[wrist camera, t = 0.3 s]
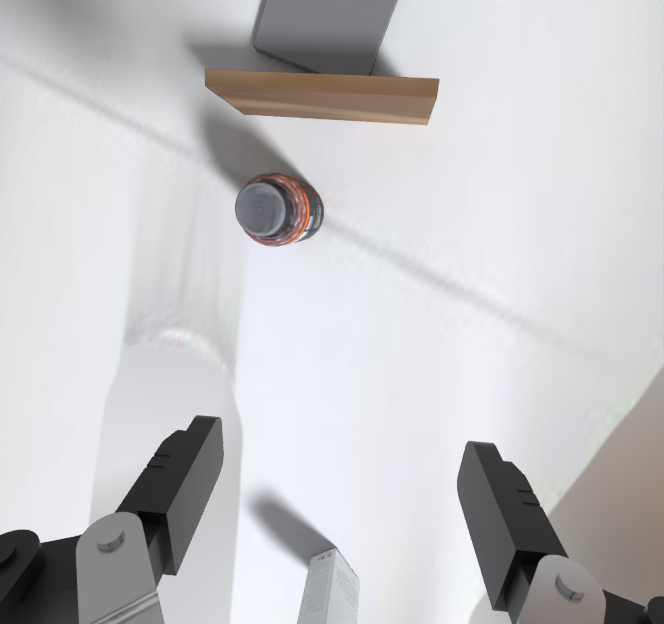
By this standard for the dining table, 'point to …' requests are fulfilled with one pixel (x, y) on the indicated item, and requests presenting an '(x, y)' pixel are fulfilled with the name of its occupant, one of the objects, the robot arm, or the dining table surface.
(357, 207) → the dining table surface
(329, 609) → the grey upright block
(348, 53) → the charcoal pad
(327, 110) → the walnut screen
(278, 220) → the supplement bottle
